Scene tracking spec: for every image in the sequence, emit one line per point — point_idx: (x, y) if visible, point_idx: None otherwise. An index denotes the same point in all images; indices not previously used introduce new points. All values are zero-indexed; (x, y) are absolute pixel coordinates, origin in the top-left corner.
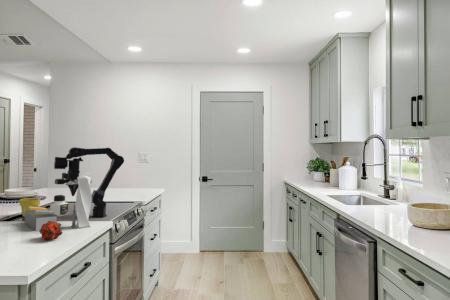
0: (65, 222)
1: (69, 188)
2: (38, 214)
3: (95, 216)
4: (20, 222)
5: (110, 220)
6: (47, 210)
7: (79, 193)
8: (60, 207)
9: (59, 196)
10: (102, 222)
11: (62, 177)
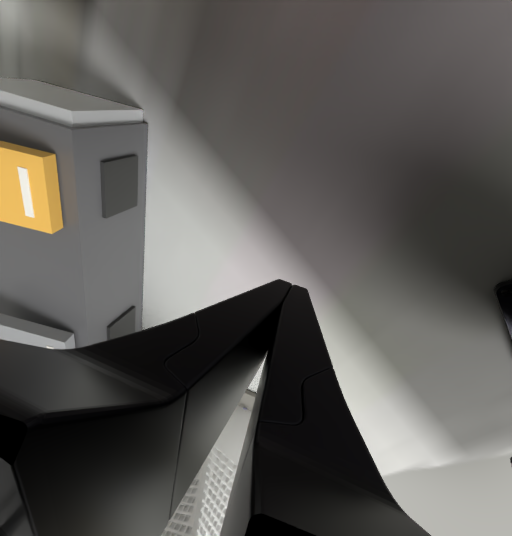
0: (227, 273)
1: (138, 343)
2: (13, 295)
3: (507, 319)
4: (11, 26)
5: (460, 455)
6: (73, 204)
7: None
8: None
9: None
10: (375, 442)
11: None
